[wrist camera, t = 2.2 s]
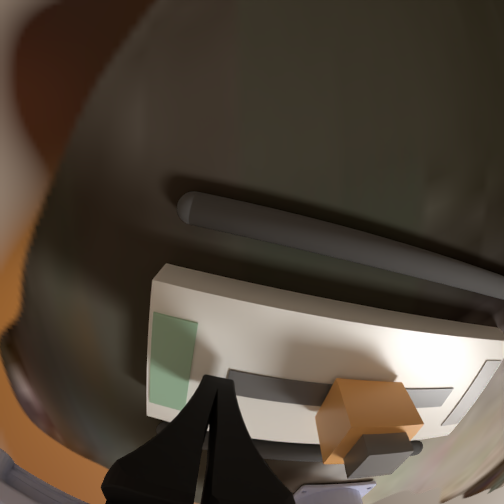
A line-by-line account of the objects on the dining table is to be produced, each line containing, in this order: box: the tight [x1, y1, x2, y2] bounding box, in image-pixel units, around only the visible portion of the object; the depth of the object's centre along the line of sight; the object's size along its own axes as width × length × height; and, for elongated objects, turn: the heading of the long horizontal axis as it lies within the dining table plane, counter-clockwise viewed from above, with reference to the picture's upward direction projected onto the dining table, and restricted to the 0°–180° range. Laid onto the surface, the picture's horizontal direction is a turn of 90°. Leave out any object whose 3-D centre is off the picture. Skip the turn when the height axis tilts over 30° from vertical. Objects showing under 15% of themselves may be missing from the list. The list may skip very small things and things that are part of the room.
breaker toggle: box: [315, 378, 424, 479], centre depth 11 cm, size 3×4×4 cm
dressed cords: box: [156, 191, 504, 462], centre depth 15 cm, size 16×21×1 cm
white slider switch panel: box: [147, 263, 504, 444], centre depth 14 cm, size 9×22×2 cm, turn 77°
